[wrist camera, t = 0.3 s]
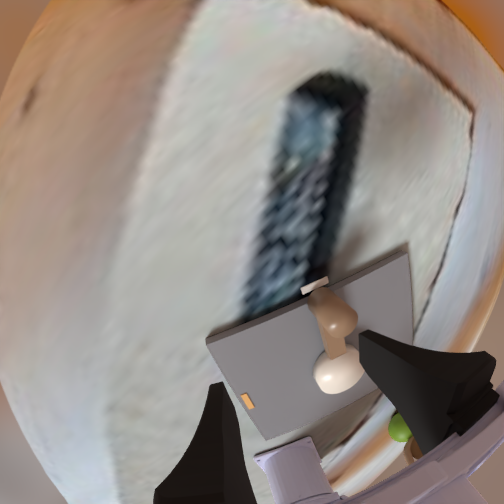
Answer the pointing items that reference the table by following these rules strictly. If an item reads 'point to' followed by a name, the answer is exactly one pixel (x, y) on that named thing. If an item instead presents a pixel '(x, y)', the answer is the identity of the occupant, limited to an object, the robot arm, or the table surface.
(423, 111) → the table surface
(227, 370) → the stud board
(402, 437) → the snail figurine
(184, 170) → the table surface
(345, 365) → the brown white rounded rod
